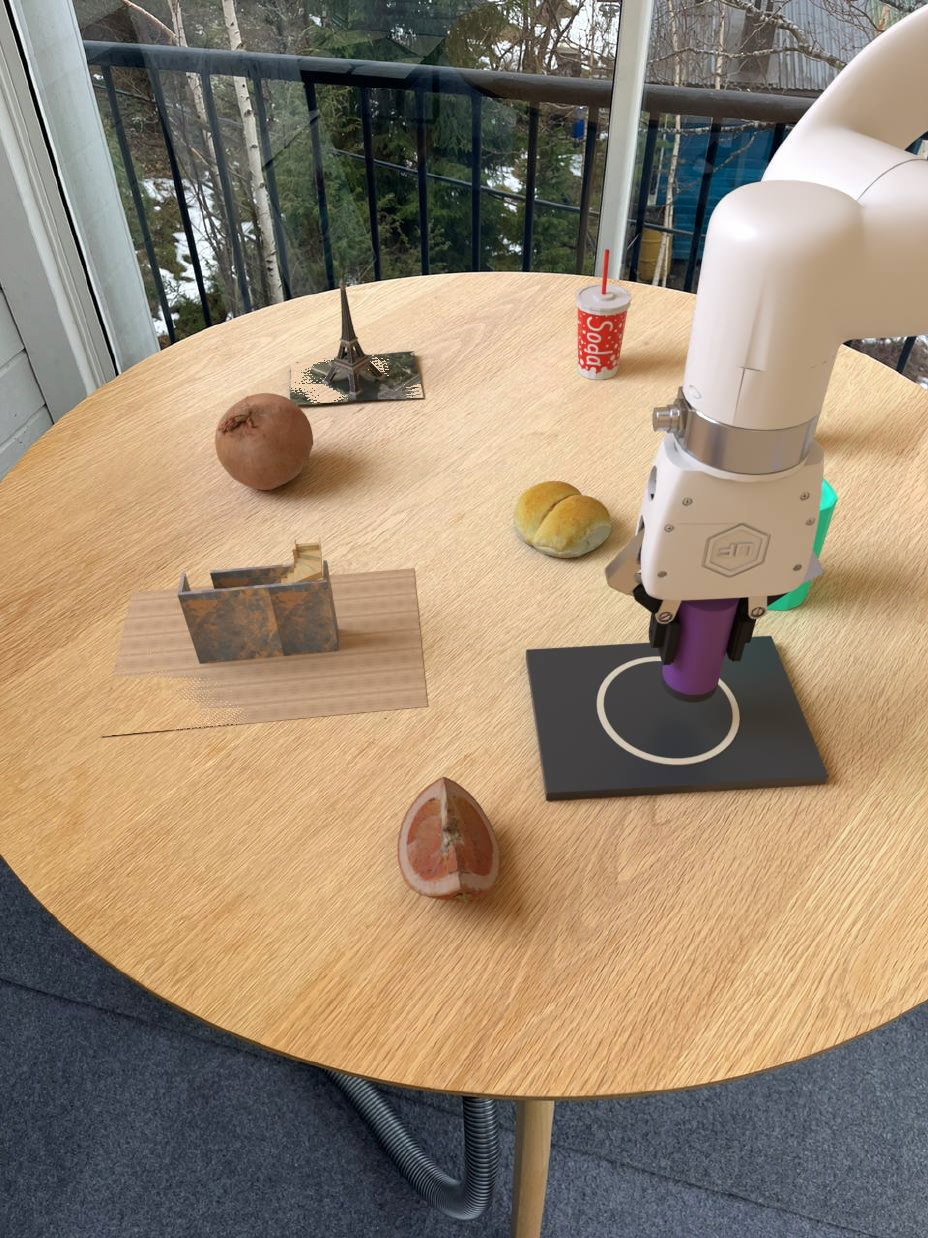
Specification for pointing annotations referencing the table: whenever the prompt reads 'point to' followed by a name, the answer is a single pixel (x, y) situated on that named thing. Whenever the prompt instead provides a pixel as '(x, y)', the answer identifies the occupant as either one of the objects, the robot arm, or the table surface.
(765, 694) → the sketch board
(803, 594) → the candle
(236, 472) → the onion
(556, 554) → the bread roll
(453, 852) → the fruit slice
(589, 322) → the beverage cup
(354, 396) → the eiffel tower figurine
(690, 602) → the dot marker
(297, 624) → the ruin model on sheet
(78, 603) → the table surface
